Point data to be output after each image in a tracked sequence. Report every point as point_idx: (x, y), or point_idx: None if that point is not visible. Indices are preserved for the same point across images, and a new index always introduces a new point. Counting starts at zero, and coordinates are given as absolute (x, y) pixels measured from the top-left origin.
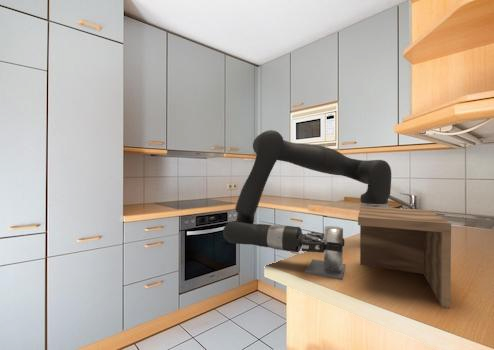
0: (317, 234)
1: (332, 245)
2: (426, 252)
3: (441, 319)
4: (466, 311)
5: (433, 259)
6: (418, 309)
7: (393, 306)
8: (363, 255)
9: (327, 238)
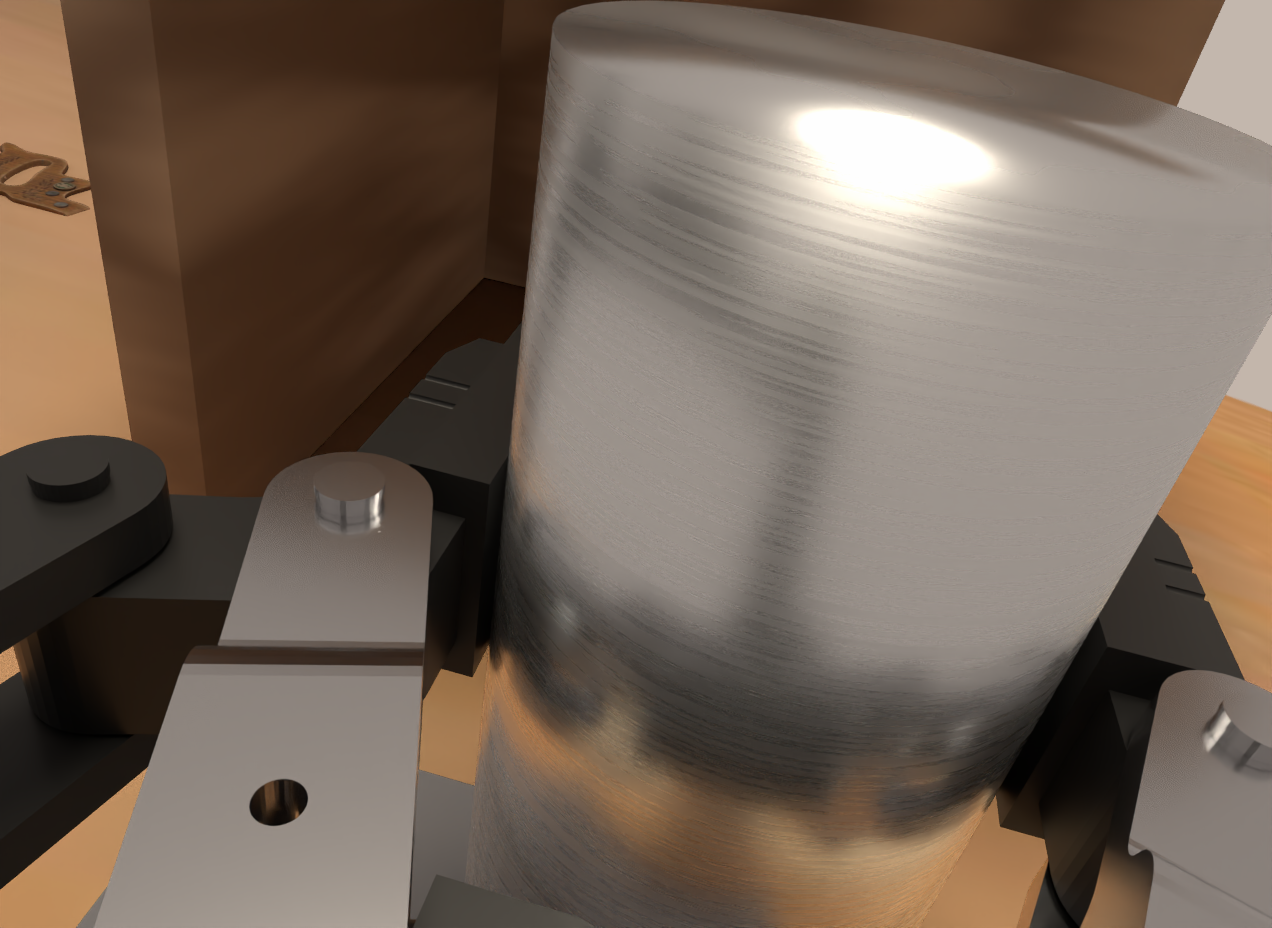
0: (314, 861)
1: (1206, 635)
2: None
3: (1221, 472)
4: None
5: None
6: (1173, 514)
7: (1256, 627)
8: (229, 413)
9: (1109, 581)
